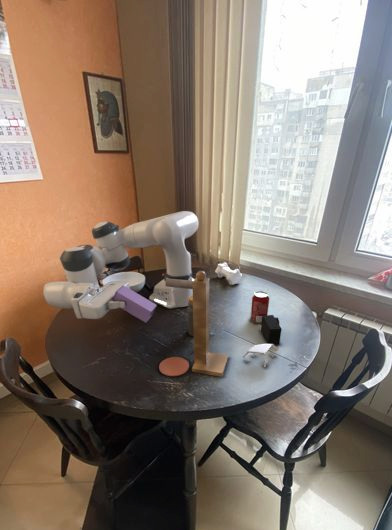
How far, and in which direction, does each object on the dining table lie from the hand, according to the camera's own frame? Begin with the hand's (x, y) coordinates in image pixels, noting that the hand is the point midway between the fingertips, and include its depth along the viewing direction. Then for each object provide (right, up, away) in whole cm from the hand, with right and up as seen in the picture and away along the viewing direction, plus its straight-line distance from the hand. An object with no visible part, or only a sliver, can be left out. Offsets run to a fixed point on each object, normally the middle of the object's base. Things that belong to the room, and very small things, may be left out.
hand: (129, 300), depth 92 cm
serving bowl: (-16, +11, +61) cm, 64 cm away
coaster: (+13, -21, +9) cm, 26 cm away
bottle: (+20, -10, +27) cm, 35 cm away
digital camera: (+49, -12, +23) cm, 55 cm away
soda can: (+46, -5, +34) cm, 58 cm away
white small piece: (+43, -19, +11) cm, 48 cm away
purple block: (0, -3, +2) cm, 3 cm away
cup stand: (+21, -20, +10) cm, 31 cm away
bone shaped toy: (+37, +18, +71) cm, 82 cm away
